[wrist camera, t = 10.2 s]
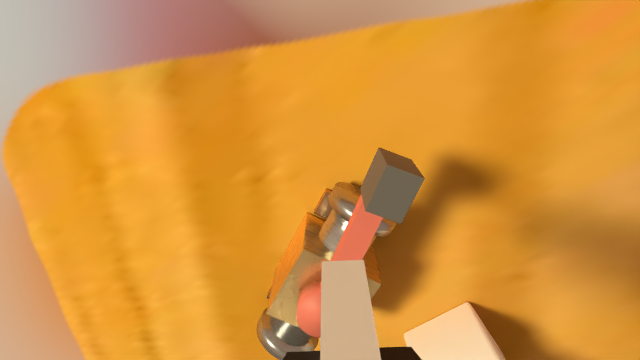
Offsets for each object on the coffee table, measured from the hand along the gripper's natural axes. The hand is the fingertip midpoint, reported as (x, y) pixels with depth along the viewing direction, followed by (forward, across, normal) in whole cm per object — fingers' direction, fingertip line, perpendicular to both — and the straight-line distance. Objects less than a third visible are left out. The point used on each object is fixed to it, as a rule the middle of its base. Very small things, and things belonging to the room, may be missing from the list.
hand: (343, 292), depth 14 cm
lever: (+13, +1, -6) cm, 15 cm away
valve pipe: (+20, -2, -11) cm, 23 cm away
